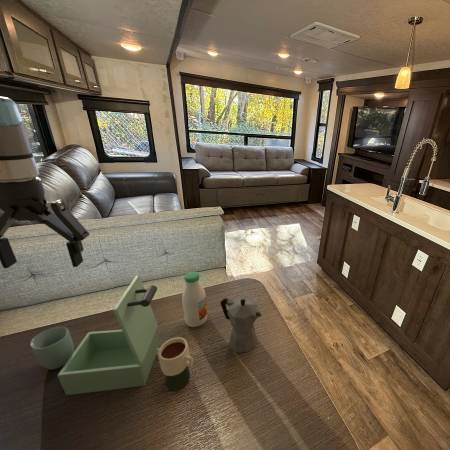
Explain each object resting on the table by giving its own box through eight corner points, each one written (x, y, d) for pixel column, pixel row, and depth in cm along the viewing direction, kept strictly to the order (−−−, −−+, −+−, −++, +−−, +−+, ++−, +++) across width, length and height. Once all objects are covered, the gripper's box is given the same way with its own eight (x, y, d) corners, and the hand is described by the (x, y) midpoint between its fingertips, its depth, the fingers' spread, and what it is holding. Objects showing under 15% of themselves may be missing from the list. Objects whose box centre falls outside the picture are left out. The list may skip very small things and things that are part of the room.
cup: (38, 363, 71) (26, 338, 67) (72, 345, 77) (63, 321, 73) (46, 379, 67) (33, 354, 63) (82, 359, 73) (72, 335, 69)
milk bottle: (192, 331, 86) (187, 285, 78) (180, 320, 90) (174, 275, 82) (211, 319, 92) (208, 274, 84) (199, 309, 96) (195, 266, 88)
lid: (112, 309, 57) (140, 305, 58) (136, 275, 69) (159, 272, 70) (138, 365, 65) (162, 361, 66) (155, 325, 77) (175, 322, 78)
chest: (66, 395, 64) (57, 375, 61) (94, 350, 76) (88, 332, 73) (144, 385, 68) (140, 366, 65) (160, 344, 80) (156, 326, 77)
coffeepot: (266, 338, 86) (268, 298, 79) (251, 360, 78) (252, 317, 71) (230, 322, 91) (229, 283, 84) (213, 341, 83) (210, 299, 76)
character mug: (202, 374, 73) (199, 342, 68) (187, 398, 66) (182, 365, 61) (170, 364, 75) (164, 332, 69) (152, 387, 68) (144, 354, 63)
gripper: (-88, 178, 45) (-37, 275, 53) (74, 186, 51) (96, 272, 59) (-45, 170, 52) (-6, 256, 60) (94, 177, 57) (111, 255, 66)
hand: (45, 264), depth 60 cm, fingers open, 13 cm apart
